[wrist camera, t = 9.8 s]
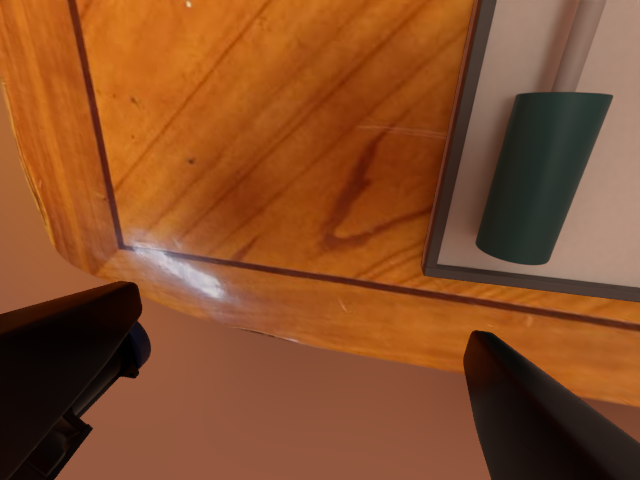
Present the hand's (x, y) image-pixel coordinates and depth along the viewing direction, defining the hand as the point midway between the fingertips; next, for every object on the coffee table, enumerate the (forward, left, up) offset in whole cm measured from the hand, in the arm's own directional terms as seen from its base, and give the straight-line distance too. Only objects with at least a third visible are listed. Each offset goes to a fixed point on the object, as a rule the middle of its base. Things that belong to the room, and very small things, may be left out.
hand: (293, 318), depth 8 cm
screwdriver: (+6, -9, -10) cm, 15 cm away
